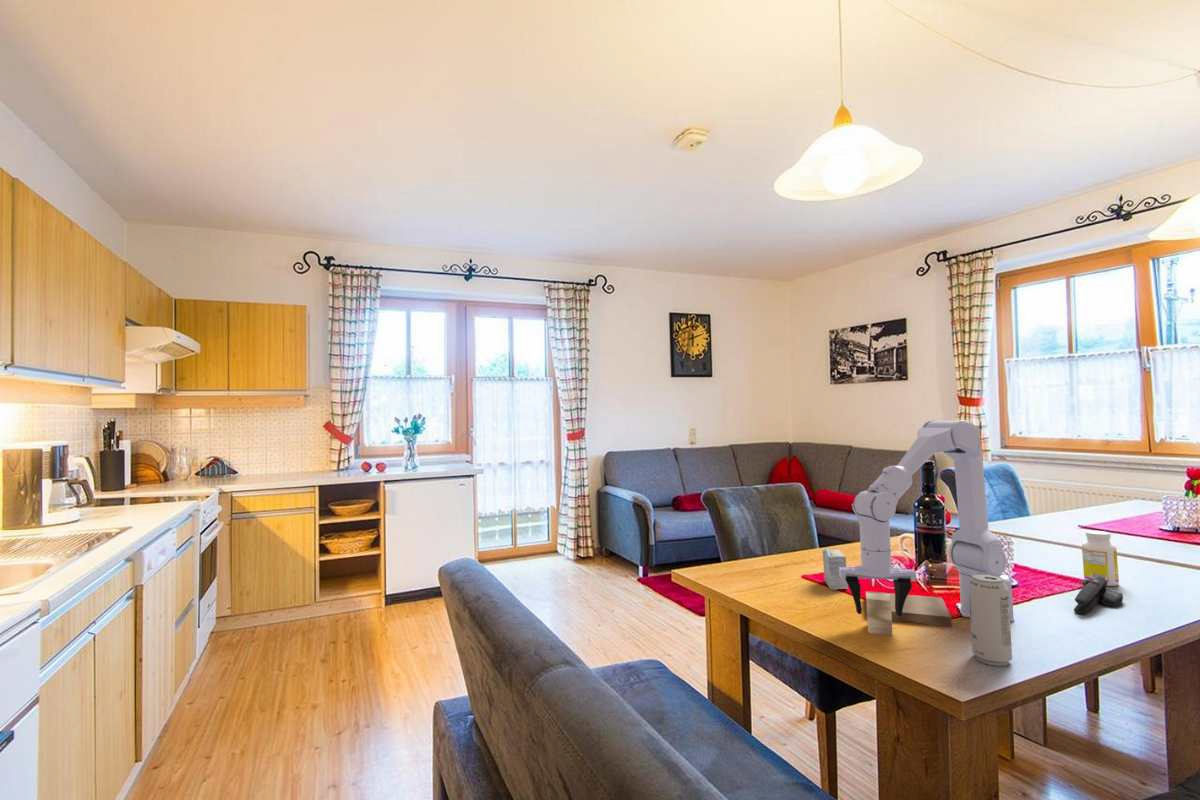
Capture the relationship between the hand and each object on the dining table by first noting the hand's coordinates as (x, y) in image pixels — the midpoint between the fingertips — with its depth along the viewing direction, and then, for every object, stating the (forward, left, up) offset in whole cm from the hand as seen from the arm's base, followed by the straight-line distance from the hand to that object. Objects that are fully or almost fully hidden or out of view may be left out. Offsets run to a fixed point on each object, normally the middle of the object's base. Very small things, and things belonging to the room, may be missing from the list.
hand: (878, 613), depth 118 cm
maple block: (0, 0, -4) cm, 4 cm away
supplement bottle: (-53, -50, -4) cm, 73 cm away
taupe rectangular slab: (-6, -13, -3) cm, 15 cm away
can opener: (-45, -29, -4) cm, 54 cm away
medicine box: (+9, -29, -4) cm, 31 cm away
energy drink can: (-18, +9, -4) cm, 20 cm away
